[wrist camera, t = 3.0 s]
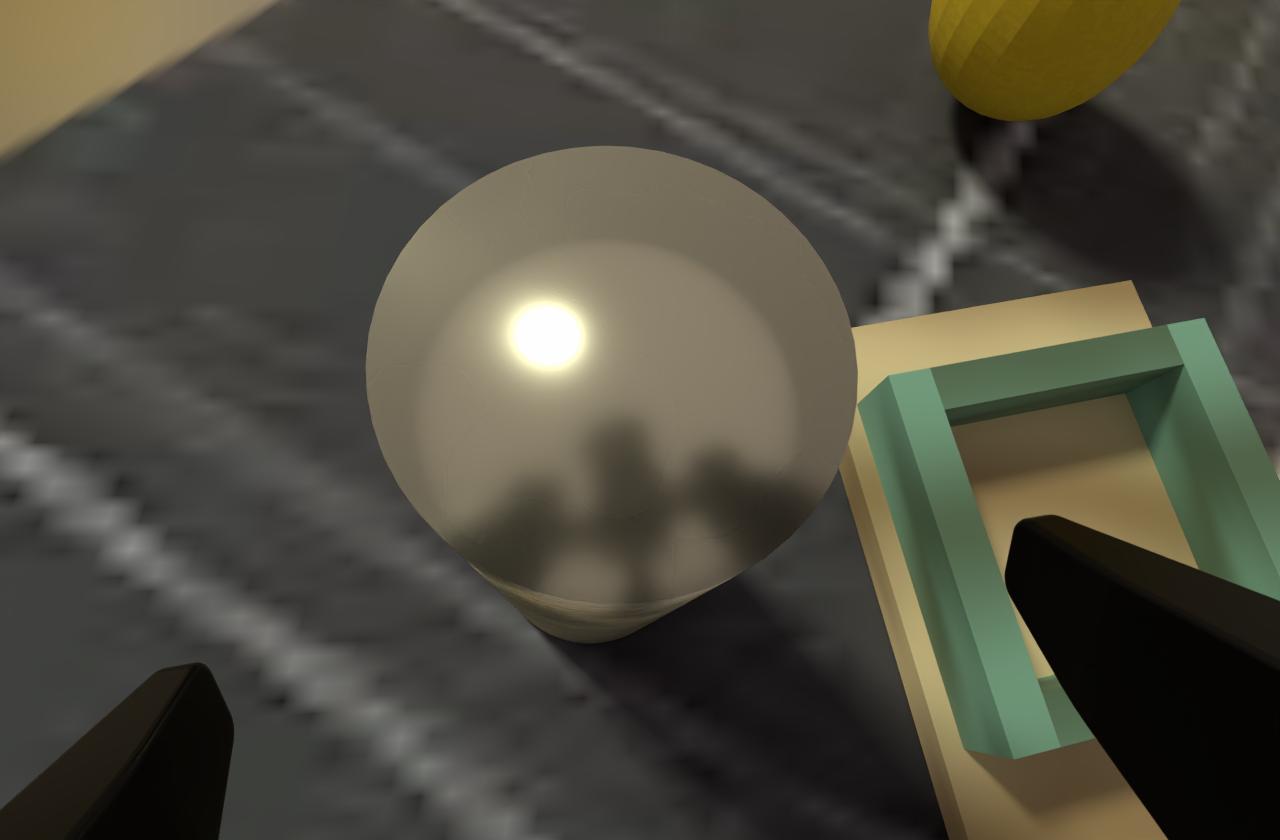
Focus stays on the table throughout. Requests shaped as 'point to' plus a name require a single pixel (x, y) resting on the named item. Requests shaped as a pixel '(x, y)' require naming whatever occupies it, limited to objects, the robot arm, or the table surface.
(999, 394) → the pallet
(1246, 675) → the robot arm
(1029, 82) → the lemon
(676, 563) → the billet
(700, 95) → the table surface
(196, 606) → the table surface
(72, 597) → the table surface
